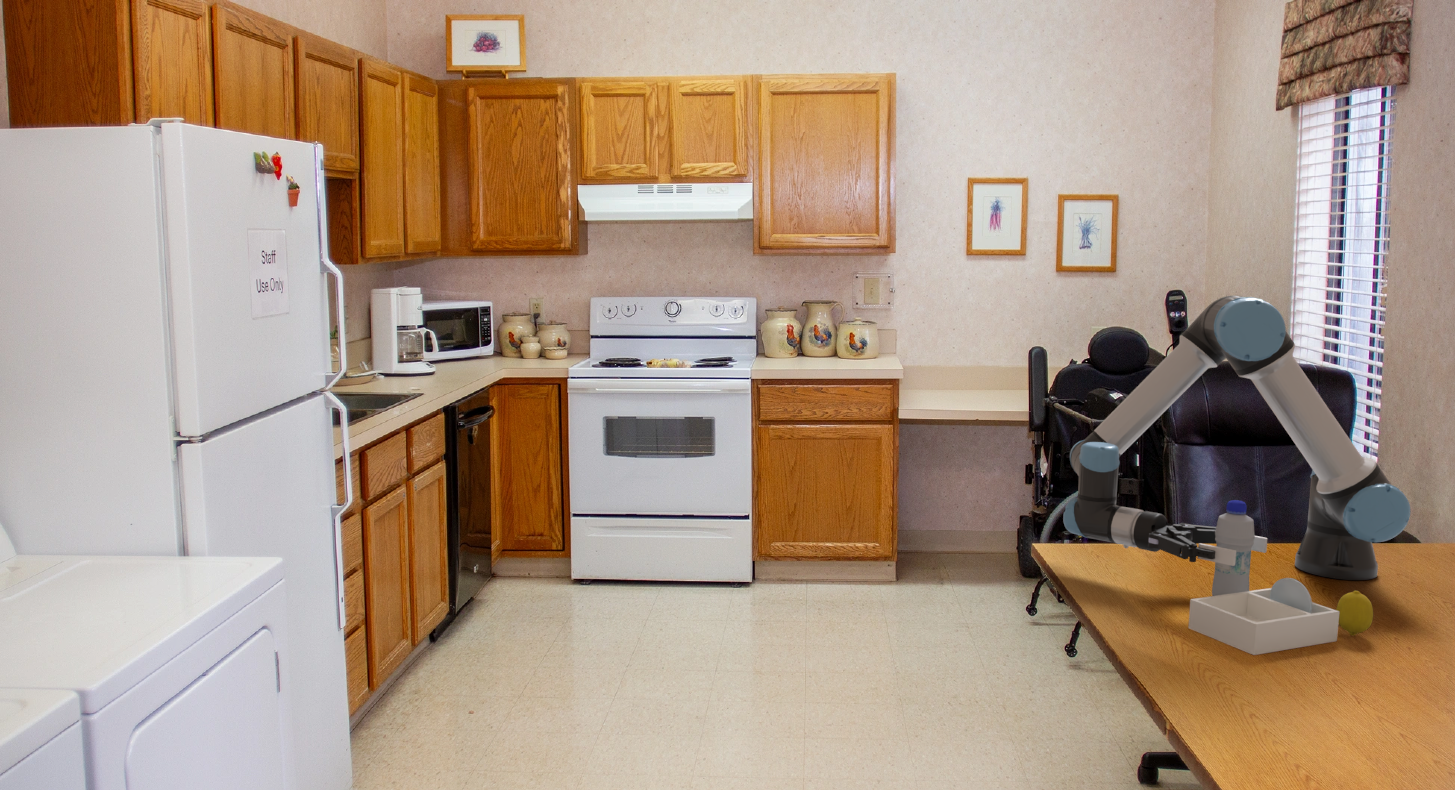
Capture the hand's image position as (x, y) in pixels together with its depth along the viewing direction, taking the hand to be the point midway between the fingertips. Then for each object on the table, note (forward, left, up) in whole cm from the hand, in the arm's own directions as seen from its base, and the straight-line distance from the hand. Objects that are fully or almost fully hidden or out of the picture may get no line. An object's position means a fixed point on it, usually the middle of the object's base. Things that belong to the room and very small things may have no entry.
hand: (1251, 551), depth 204 cm
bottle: (+1, -3, -11) cm, 12 cm away
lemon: (-6, +17, -11) cm, 21 cm away
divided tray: (+9, +11, -11) cm, 18 cm away
